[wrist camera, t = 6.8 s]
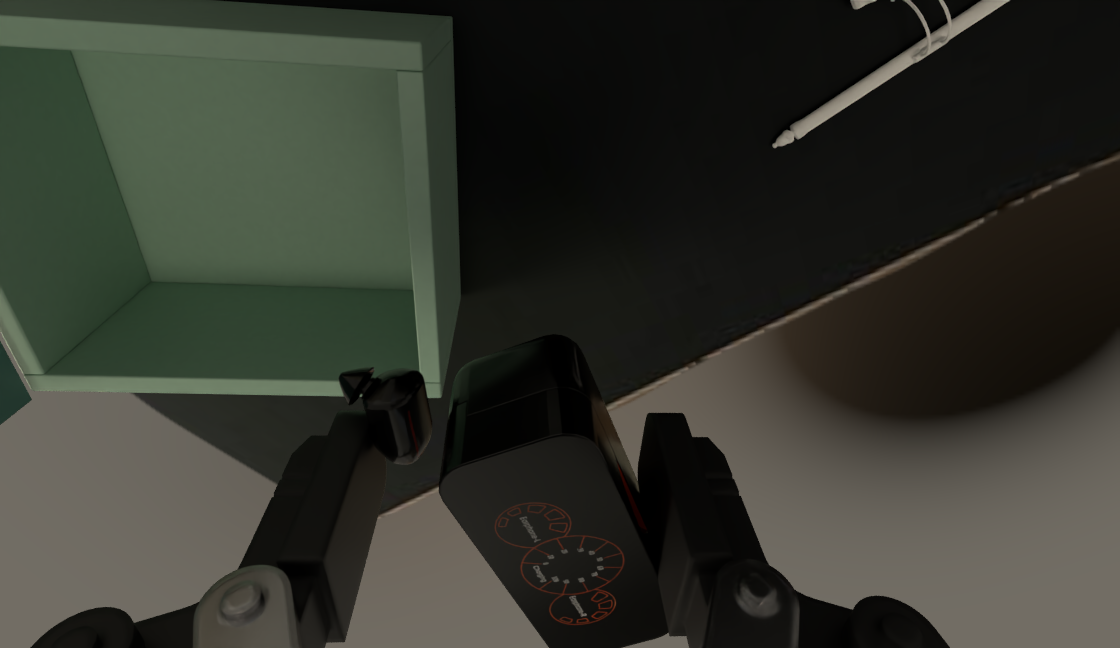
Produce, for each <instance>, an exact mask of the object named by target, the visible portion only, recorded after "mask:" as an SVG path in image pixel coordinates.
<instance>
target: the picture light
mask: <svg viewBox="0 0 1120 648" xmlns="http://www.w3.org/2000/svg"><path fill="white" fill-rule="evenodd" d="M850 1H851V4H852V7H853V8H854V9H859V8H861V7H863V6H865V5H866V4H868V3H871V2H874V1H876V0H850ZM891 1H892V2H894V1H895V0H891ZM904 1H905V2H907V3H908V4H909V5H910V6H911V7H912V8H913V9H914V10H915V12H916V13H917V15H918V16H919V18H920V20H921V21H922V23H923V25H924V28H925V31H926V34H927V37H925V38H924V39H922V40H921V41H919V42H918V43H916V44H915V45H913V46H912V47H910V48H909V49H907V50H906V51H904V52H903V53H901V54H900V55H898V56H897V57H895V58H894V59H892V60H891V61H889V62H888V63H886V64H884V65H883V66H881V67H880V68H878V69H877V70H875V71H874V72H872V73H871V74H869V75H868V76H866V77H865V78H863V79H862V80H860V81H859V82H857V83H856V84H854V85H853V86H851V87H850V88H848V89H847V90H845V91H844V92H842V93H841V94H839V95H838V96H836V97H835V98H833V99H832V100H830V101H829V102H827V103H826V104H824V105H823V106H821V107H819V108H818V109H816V110H815V111H813V112H812V113H810V114H809V115H807V116H806V117H804V118H803V119H801V120H800V121H796V122H795V123H793V124H792V125H790V130H791V131H789V130H785V131H783V133H782V134H781V135H780V136H779V137H778V138H777V139H776V143H773V144H772V146H773V148H776V147H777V146H784V145H786V144H787V143H792V142H793V141H794V136H795V138H797V139H800V138H801V137H803V136H804V135H806V133H807V132H809V131H810V130H812V129H813V128H815V127H817V126H818V125H820V124H821V123H823V122H824V121H826V120H827V119H829V118H830V117H832V116H833V115H835V114H836V113H838V112H839V111H841V110H843V109H844V108H846V107H847V106H849V105H850V104H852V103H853V102H855V101H856V100H858V99H859V98H861V97H862V96H864V95H866V94H867V93H869V92H870V91H872V90H873V89H875V88H876V87H878V86H879V85H881V84H882V83H884V82H885V81H887V80H889V79H890V78H892V77H893V76H895V75H896V74H898V73H899V72H901V71H902V70H904V69H905V68H907V67H908V66H910V65H911V64H913V63H917V62H918V61H920V60H921V59H923V58H925V57H926V56H928V55H929V54H931V53H932V52H934V51H935V50H937V49H938V48H940V47H941V46H943V45H944V44H946V43H948V40H950V39H951V38H953V37H954V36H956V35H957V34H959V33H961V32H962V31H964V30H965V29H967V28H968V27H970V26H971V25H973V24H974V23H976V22H977V21H979V20H980V19H982V18H983V17H985V16H987V15H988V14H990V13H991V12H993V11H994V10H996V9H997V8H999V7H1000V6H1002V5H1003V4H1005V3H1006V2H1008V1H1010V0H981V1H980V2H978V3H977V4H975V5H974V6H972V7H971V8H969V9H968V10H966V11H965V12H963V13H962V14H960V15H959V16H957V17H956V18H954V19H953V20H951V17H950V13H949V11H948V8H947V6H946V4H945V3H944V1H943V0H939V2H940V3H941V5H942V7H943V9H944V11H945V14H946V16H947V20H948V23H946V24H945V25H943V26H942V27H940V28H939V29H937V30H936V31H934V32H933V33H931V34H930V32H929V28H928V26H927V23H926V21H925V19H924V17H923V16H922V14H921V12H920V11H919V10H918V8H917V7H916V6H915V5H914V4H913V3H912V2H911V1H910V0H904Z"/></svg>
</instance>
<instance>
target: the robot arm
mask: <svg viewBox="0 0 1120 648" xmlns="http://www.w3.org/2000/svg"><path fill="white" fill-rule="evenodd" d="M385 484H386V459H385V456H384V455H382V454H381V453H380V452H379V451H378V450H377V449H376V448H375V446H374V444H373V440H372V435H371V429H370V426H369V423H368V419H367V416H366V412H365V411H339V412H338V413H337V415H336V417H335V419H334V422H333V424H332V426H331V429H330V431H329V434H328V436H310V437H309V438H308V439H307V440H306V441H305V442H304V443H303V444H302V445H301V446H300V447H299V448H298V449H297V450H296V451H295V452H294V453H293V454H292V455H291V457H290V460H289V462H288V464H287V466H286V468H285V470H284V472H283V475H282V480H280V481H279V483H278V485H277V487H276V490H275V492H274V497H272V498H271V500H270V502H269V504H268V507H267V509H266V511H265V513H264V515H263V517H262V519H261V522H260V524H259V526H258V528H257V531H256V532H255V534H254V537H253V539H252V541H251V543H250V545H249V547H248V549H247V552H246V554H245V556H244V558H243V560H242V562H241V564H240V566H239V568H238V569H237V570H236V571H233V572H232V573H230V574H228V575H226V576H224V577H223V578H221V579H220V580H218V581H217V582H216V583H215V584H214V585H213V586H212V587H211V588H210V589H209V590H208V591H207V592H206V593H205V594H204V596H203V597H202V599H201V600H200V602H198V603H196V604H193V605H191V606H188V607H186V608H183V609H180V610H176V611H173V612H170V613H166V614H163V615H160V616H156V617H153V618H150V619H146V620H143V621H139V622H136V623H134V622H133V621H132V619H131V617H130V616H129V615H128V614H127V613H126V612H124V611H122V610H121V609H117V608H112V607H102V608H94V609H90V610H87V611H84V612H81V613H78V614H76V615H74V616H71V617H69V618H67V619H66V620H64V621H62V622H60V623H59V624H57V625H56V626H54V627H53V628H51V629H50V630H49V631H48V632H46V633H45V634H44V635H43V636H42V637H40V638H39V639H38V640H37V642H35V643H34V645H33V646H32V647H31V648H325V645H326V643H327V642H345V639H346V635H347V631H348V628H349V624H350V620H351V616H352V613H353V609H354V605H355V601H356V597H357V594H358V590H359V586H360V582H361V578H362V575H363V571H364V567H365V563H366V559H367V556H368V552H369V547H370V544H371V540H372V536H373V533H374V529H375V525H376V521H377V518H378V514H379V510H380V506H381V502H382V499H383V495H384V490H385ZM638 487H639V494H640V498H641V502H642V507H643V511H644V516H645V520H646V524H647V531H648V535H649V538H650V542H651V546H652V551H653V555H654V560H655V564H656V568H657V573H658V578H657V579H658V583H659V588H660V593H661V598H662V602H663V607H664V612H665V617H666V621H667V626H668V631H669V636H687V640H688V644H689V648H950V647H949V646H948V645H947V643H946V642H945V641H944V639H943V638H942V637H941V636H940V634H939V633H938V632H937V630H936V629H935V628H934V627H933V626H932V624H931V623H930V622H929V621H928V620H927V619H926V618H925V617H923V615H921V614H920V613H919V612H918V611H916V610H915V609H913V608H912V607H910V606H909V605H907V604H905V603H902V602H901V601H898V600H895V599H893V598H889V597H884V596H870V597H866V598H864V599H862V600H860V601H859V602H858V603H857V604H856V605H855V607H854V609H853V610H852V609H848V608H844V607H841V606H837V605H834V604H831V603H827V602H824V601H820V600H817V599H813V598H810V597H808V596H805V595H803V594H801V593H799V592H797V591H796V590H794V588H793V587H792V585H791V584H790V582H788V580H787V579H786V578H785V577H784V576H783V575H782V574H781V573H780V572H779V571H777V570H776V569H774V568H773V567H771V566H769V564H768V562H767V561H766V558H765V556H764V553H763V551H762V548H761V547H760V543H759V541H758V538H757V536H756V533H755V531H754V528H753V526H752V523H751V521H750V518H749V516H748V514H747V511H746V508H745V506H744V503H743V501H742V498H741V496H739V491H738V488H737V486H736V483H735V481H734V479H732V473H731V470H730V468H729V466H728V463H727V460H726V458H725V456H724V454H723V453H722V452H721V451H720V450H719V449H718V448H717V447H716V446H715V444H713V442H712V441H711V440H710V439H709V438H708V437H692V435H691V432H690V429H689V426H688V423H687V421H686V418H685V416H684V414H683V413H648V414H647V417H646V421H645V427H644V433H643V439H642V445H641V450H640V456H639V462H638Z"/></svg>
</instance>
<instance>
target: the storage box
mask: <svg viewBox="0 0 1120 648" xmlns="http://www.w3.org/2000/svg"><path fill="white" fill-rule="evenodd" d="M460 298H461V286H460V253H459V220H458V187H457V154H456V121H455V87H454V54H453V21H452V17H451V16H437V15H422V14H407V13H393V12H378V11H363V10H348V9H334V8H319V7H304V6H290V5H275V4H260V3H245V2H231V1H216V0H0V332H1V334H2V336H3V338H4V340H5V341H6V344H7V345H8V347H9V349H10V351H11V353H12V355H13V357H14V358H15V360H16V362H17V364H18V366H19V368H20V370H21V372H22V373H23V374H24V377H25V379H26V381H27V383H28V385H29V387H30V388H31V390H33V391H86V392H139V393H194V394H249V395H304V396H344V395H343V392H342V389H341V387H340V384H339V379H338V378H339V376H340V374H341V373H342V372H345V371H348V370H352V369H358V368H363V367H374V373H373V375H372V377H374V378H376V377H377V376H378V375H379V374H380V373H383V372H385V371H389V370H393V369H399V368H408V369H414V370H417V371H419V372H420V373H421V374H422V375H423V377H424V381H425V386H426V392H427V397H428V398H441V397H442V392H443V387H444V382H445V377H446V371H447V366H448V361H449V356H450V350H451V345H452V340H453V335H454V329H455V324H456V319H457V314H458V308H459V303H460ZM372 377H371V378H372ZM359 397H362V394H361V395H360V396H359Z"/></svg>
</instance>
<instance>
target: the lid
mask: <svg viewBox="0 0 1120 648" xmlns="http://www.w3.org/2000/svg"><path fill="white" fill-rule="evenodd" d="M31 400H32V399H31V397H30V395H29V393H28V392H27V390H26V388H25V386H24V384H23V382H22V381H21V379H20V377H19V375H18V373H17V371H16V369H15V368H14V366H13V364H12V362H11V360H10V358H9V356H8V355H7V353H6V351H5V349H4V347H3V345H2V344H1V342H0V425H1V424H2V423H3V422H4V421H6V420H7V419H8V418H9V417H11V416H12V415H13V414H15V413H16V412H17V411H18V410H20V409H21V408H22V407H23V406H25V405H26V404H27V403H28V402H30V401H31Z"/></svg>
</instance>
